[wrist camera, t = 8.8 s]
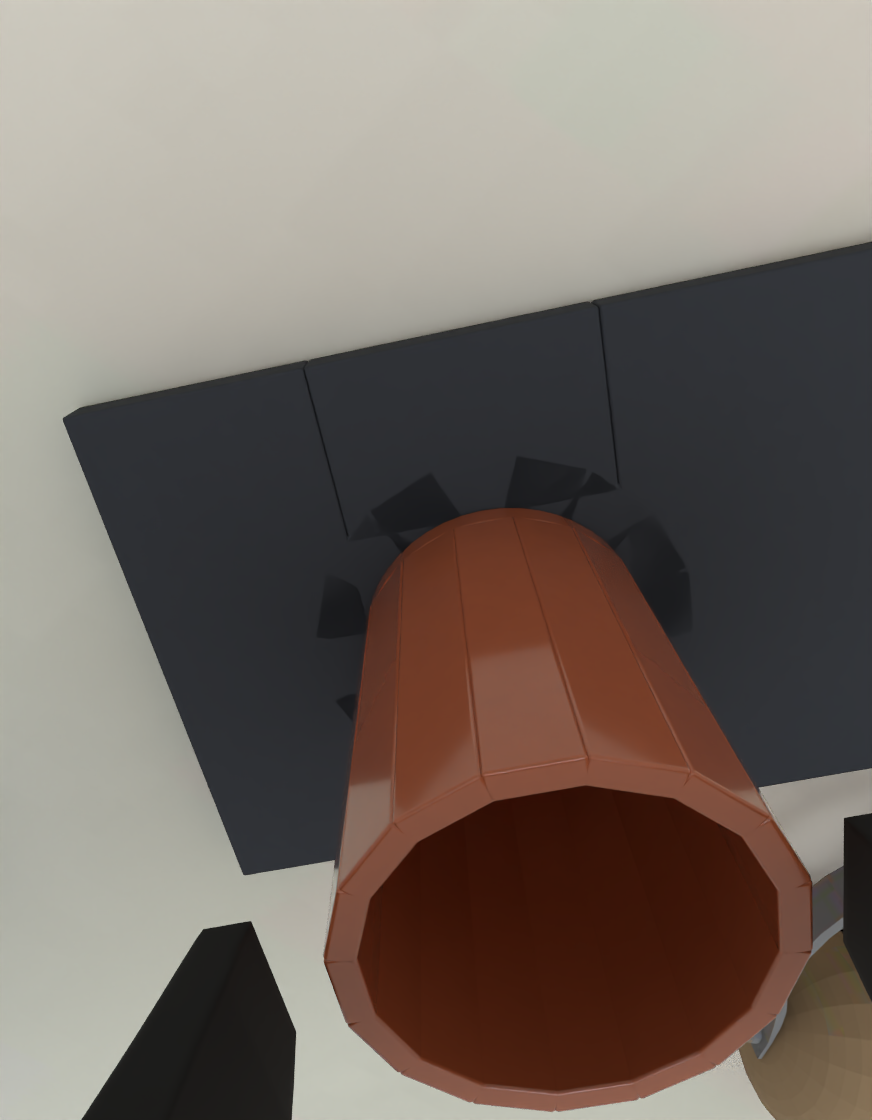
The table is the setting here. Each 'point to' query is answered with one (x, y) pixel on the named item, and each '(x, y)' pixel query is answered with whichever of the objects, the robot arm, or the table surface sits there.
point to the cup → (548, 834)
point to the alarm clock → (818, 1030)
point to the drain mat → (510, 482)
